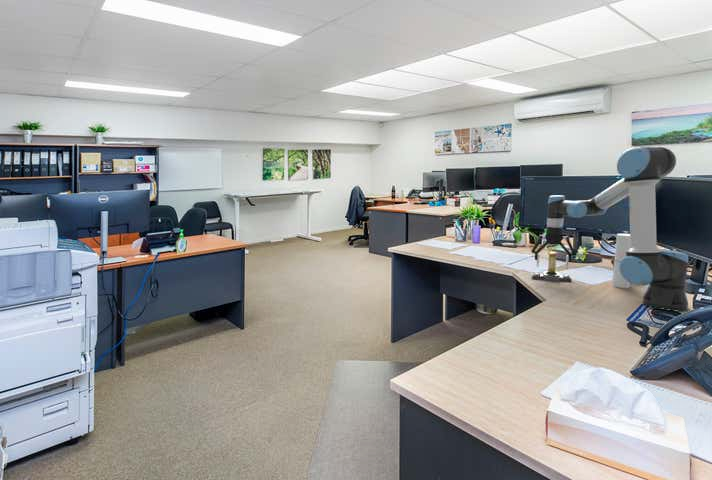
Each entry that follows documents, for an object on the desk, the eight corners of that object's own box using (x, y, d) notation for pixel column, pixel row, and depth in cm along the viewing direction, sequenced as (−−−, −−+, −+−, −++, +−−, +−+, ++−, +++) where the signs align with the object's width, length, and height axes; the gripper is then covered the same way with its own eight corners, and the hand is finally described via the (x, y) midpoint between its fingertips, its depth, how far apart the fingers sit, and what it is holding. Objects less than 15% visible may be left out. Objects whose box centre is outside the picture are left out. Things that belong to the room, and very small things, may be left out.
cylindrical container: (608, 284, 202) (613, 234, 197) (619, 283, 204) (624, 233, 199) (621, 288, 195) (626, 236, 190) (633, 287, 197) (638, 235, 192)
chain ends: (569, 278, 213) (570, 272, 213) (571, 282, 207) (572, 276, 206) (531, 275, 219) (532, 270, 219) (532, 279, 213) (532, 273, 212)
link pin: (557, 279, 213) (559, 252, 210) (553, 280, 210) (555, 254, 207) (548, 277, 216) (550, 251, 214) (544, 278, 213) (546, 252, 211)
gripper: (581, 226, 207) (578, 267, 211) (527, 224, 216) (525, 263, 220) (583, 228, 200) (580, 270, 204) (528, 226, 209) (525, 267, 213)
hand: (551, 267), depth 212 cm, fingers open, 13 cm apart
